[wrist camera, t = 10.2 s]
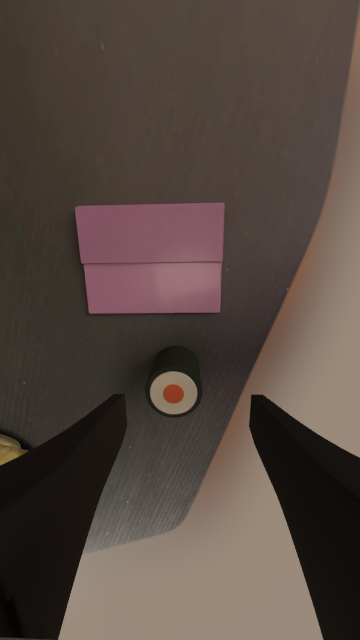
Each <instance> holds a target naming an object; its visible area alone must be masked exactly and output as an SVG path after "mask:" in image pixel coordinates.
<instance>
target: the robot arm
mask: <svg viewBox="0 0 360 640" xmlns="http://www.w3.org/2000/svg"><path fill="white" fill-rule="evenodd" d="M249 427H250V430H251V434H252V437H253V440H254V444H255V446H256V449H257V451H258V453H259V456H260V458H261V460H262V463H263V465H264V467H265V469H266V471H267V474H268V476H269V478H270V481H271V483H272V485H273V487H274V490H275V492H276V494H277V496H278V499H279V502H280V505H281V507H282V510H283V513H284V516H285V519H286V522H287V525H288V527H289V531H290V533H291V537H292V540H293V542H294V545H295V549H296V552H297V555H298V558H299V561H300V564H301V567H302V570H303V573H304V577H305V580H306V583H307V586H308V589H309V593H310V596H311V599H312V602H313V606H314V609H315V612H316V615H317V619H318V622H319V626H320V629H321V633H322V636H323V639H324V640H360V458H359V457H357V456H355V455H353V454H351V453H349V452H347V451H346V450H344V449H342V448H340V447H338V446H337V445H335V444H333V443H331V442H330V441H328V440H326V439H325V438H323V437H321V436H320V435H318V434H317V433H315V432H313V431H312V430H311V429H309V428H308V427H306V426H304V425H303V424H301V423H300V422H299V421H297V420H296V419H295V418H293V417H292V416H290V415H289V414H288V413H286V412H285V411H284V410H282V409H281V408H280V407H278V406H277V405H276V404H274V403H273V402H272V401H271V400H269V399H267V398H266V397H265V396H263V395H251V408H250V423H249ZM126 428H127V417H126V405H125V394H114V395H112V396H111V397H109V398H108V399H107V400H105V401H104V402H103V403H102V404H100V405H99V406H98V407H97V408H95V409H94V410H93V411H91V412H90V413H89V414H87V415H86V416H85V417H83V418H82V419H81V420H79V421H78V422H76V423H75V424H73V425H72V426H71V427H69V428H68V429H66V430H65V431H63V432H62V433H60V434H58V435H57V436H55V437H53V438H52V439H50V440H48V441H47V442H45V443H43V444H42V445H40V446H38V447H36V448H34V449H32V450H30V451H28V452H26V453H25V454H23V455H21V456H19V457H17V458H15V459H13V460H11V461H8V462H6V463H4V464H2V465H0V640H58V637H59V634H60V630H61V626H62V623H63V619H64V615H65V612H66V608H67V604H68V600H69V597H70V593H71V590H72V586H73V583H74V579H75V576H76V573H77V569H78V566H79V562H80V559H81V555H82V552H83V549H84V546H85V542H86V539H87V536H88V533H89V529H90V526H91V523H92V520H93V517H94V514H95V511H96V508H97V504H98V501H99V498H100V496H101V493H102V491H103V488H104V486H105V483H106V481H107V478H108V476H109V474H110V471H111V469H112V466H113V464H114V462H115V459H116V457H117V454H118V452H119V450H120V447H121V445H122V442H123V438H124V435H125V431H126Z"/></svg>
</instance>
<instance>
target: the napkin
mask: <svg viewBox="0 0 360 640" xmlns="http://www.w3.org/2000/svg"><path fill="white" fill-rule="evenodd" d="M75 214H76V223H77V232H78V240H79V249H80V258H81V264H84V272H85V281H86V290H87V299H88V308H89V313H90V314H99V313H220V298H221V267H222V261H223V232H224V203H190V204H147V205H104V206H77V207H75Z"/></svg>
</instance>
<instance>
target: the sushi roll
mask: <svg viewBox="0 0 360 640" xmlns="http://www.w3.org/2000/svg"><path fill="white" fill-rule="evenodd" d="M145 393H146V398H147V401H148V403H149V404H150V406H151V407H152V408H153V409H154V410H155V411H156V412H158V413H159V414H161V415H164V416H167V417H182V416H185V415H188V414H189V413H191V412H192V411H194V410H195V409H196V408H197V406H198V405H199V403H200V401H201V398H202V385H201V379H200V372H199V365H198V361H197V358H196V357H195V355H194V354H193V353H192V352H191V351H190V350H188V349H186V348H184V347H180V346H172V347H168V348H166V349H164V350H162V351H161V352H160V353H159V354H158V356H157V357H156V359H155V362H154V365H153V367H152V370H151V373H150V375H149V378H148V381H147V384H146V388H145Z"/></svg>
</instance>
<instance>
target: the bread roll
mask: <svg viewBox="0 0 360 640" xmlns="http://www.w3.org/2000/svg"><path fill="white" fill-rule="evenodd" d="M26 452H28V450H23V449H21V446H20V443H19V442H18V441H16V440H15V439H13V438H10V437H8V436H6V435H2V434H0V465H2V464H4V463H6V462H8V461H11V460H13V459H15V458H17V457H19V456H21V455H23V454H25V453H26Z"/></svg>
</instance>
